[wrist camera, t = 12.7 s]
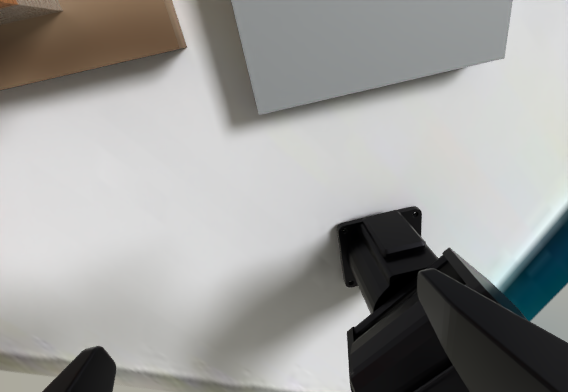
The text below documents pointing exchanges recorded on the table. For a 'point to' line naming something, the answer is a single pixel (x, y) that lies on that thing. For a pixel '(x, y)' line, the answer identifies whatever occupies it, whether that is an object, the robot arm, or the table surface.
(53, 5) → the block
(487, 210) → the table surface
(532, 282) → the table surface
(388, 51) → the grey stand
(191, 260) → the table surface
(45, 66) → the walnut stand
